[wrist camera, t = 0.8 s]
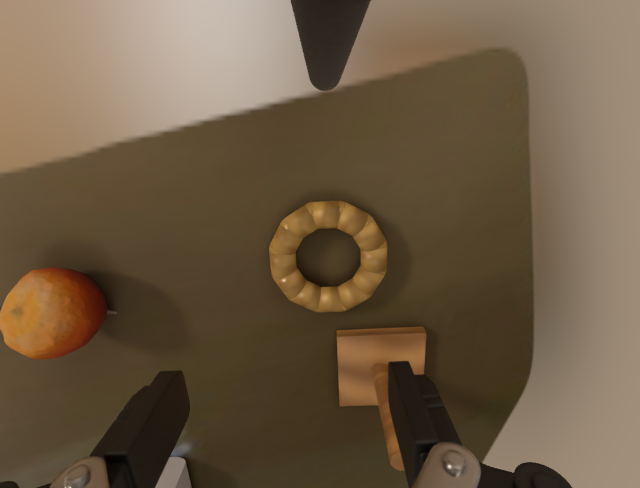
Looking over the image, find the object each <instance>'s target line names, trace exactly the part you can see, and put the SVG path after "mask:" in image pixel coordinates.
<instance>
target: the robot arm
mask: <svg viewBox="0 0 640 488" xmlns="http://www.w3.org/2000/svg"><path fill="white" fill-rule="evenodd" d="M388 401H389V408H390V413H391V417H392V421H393V425H394V429H395V433H396V437H397V441H398V445H399V449H400V453H401V457H402V461H403V465H404V469H405V473H406V477H407V481H408V485H409V488H572V487H571V485H570V484H569V483H568V482H567V481H566V480H565V479H564V478H563V477H562V476H561V475H560V474H558V473H557V472H556V471H554V470H553V469H551V468H549V467H547V466H545V465H541V464H538V463H532V462H527V463H522V464H520V465H519V466H518V467H517V468H516V469H515V472H514V473H512V472H508V471H505V470H501V469H497V468H493V467H490V466H487V465H485V464H483V463H481V462H479V461H478V460H477V459H476V457H475V456H474V455H473V454H472V453H471V452H470V451H469V450H468V449H466V448H465V447H463V445H462V443H461V441H460V439H459V437H458V435H457V433H456V430H455V428H454V426H453V424H452V422H451V419H450V417H449V415H448V413H447V411H446V408H445V407H444V404H443V402H442V400H441V398H440V395H439V393H438V391H437V389H436V386H435V384H434V383H433V382H432V381H431V380H430V379H429V378H428V377H427V376H426V375H425V374H418V375H414V373H413V370H412V368H411V365H410V363H409V361H391V362H389V363H388ZM189 410H190V402H189V397H188V393H187V388H186V384H185V379H184V375H183V372H182V371H180V370H179V371H161V372H159V373H158V375H157V376H156V377H155V379H154V380H153V382H152V383H151V385H150V386H144V387H143V388H142V389H141V390H140V391H138V392H137V393H136V394H135V395H133V396H132V398H131V399H130V400H129V402H128V403H127V404H126V406H125V407H124V410H122V411H121V413H120V414H119V415H118V417H117V420H115V421H114V422H113V424H112V425H111V427H110V428H109V429H108V431H107V432H106V433H105V435H104V436H103V438H102V439H101V440H100V442H99V443H98V445H97V446H96V447H95V449H94V450H93V451H92V453H91V454H90V456H89V457H86V458H83V459H80V460H78V461H76V462H74V463H72V464H71V465H69V466H68V467H66V468H65V469H64V470H63V471H62V472H61V473H59V475H58V476H57V477H56V478H55V479H54V481H53V482H52V483H50V484H47V485H44V486H41V487H37V488H155V487H156V485H157V483H158V481H159V479H160V476H161V474H162V472H163V470H164V468H165V466H166V464H167V462H168V459H169V457H170V455H171V453H172V451H173V449H174V447H175V445H176V443H177V440H178V438H179V436H180V434H181V432H182V430H183V428H184V426H185V423H186V421H187V419H188V416H189ZM0 488H19V487H18V485H17V483H15V482H12V481H6V482H1V483H0Z"/></svg>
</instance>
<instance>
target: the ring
mask: <svg viewBox="0 0 640 488" xmlns="http://www.w3.org/2000/svg"><path fill="white" fill-rule="evenodd" d="M324 228H337V229H339V230H341V231H343V232H345V233H347V234H349V235H351V236H352V237H353V238H354V240H355V241H356V243H357V244H358V246H359V247H360V249H361V265H360V267H359V268H358V270H357V272H356V273H355V275H354V277H353V278H352V279H350V280H348V281H347V282H345V283H343V284H341V285H340V286H334V287H320V286H318V285H316V284H313V283H311V282H309V281H307V280H306V279H305V278H304V277H303V275H302V274H301V272H300V271H299V270H298V268H297V264H296V251H297V249H298V247H299V245H300V243H301V241H302V239H303V238H304V237H306V236H307V235H309V234H310V233H312V232H314V231H315V230H317V229H324ZM269 255H270V264H271V273H272V277H273V279H274V280H275V282H276V283H277V284H278V286H279V287H280V288H281V290H282V291H283V292H284V294H285V295H286V296H287V298H288V299H289V300H291V301H292V302H294V303H297V304H299V305H301V306H303V307H305V308H308V309H310V310H312V311H314V312H338V311H346V310H348V309H350V308H352V307H354V306H356V305H357V304H359V303H361V302H363V301H365V300H366V299H368V298H370V297H371V296H372V295H373V293H374V292H375V290H376V288H377V287H378V285H379V284H380V282H381V280H382V279H383V277H384V276H385V274H386V271H387V241H386V239H385V237H384V235H383V234H382V232H381V231H380V229H379V227H378V226H377V224H376V222H375V221H374V219H373V218H372V216H371V215H369V214H368V213H366V212H364V211H362V210H360V209H358V208H356V207H354V206H352V205H350V204H348V203H346V202H344V201H320V202H310V203H307V204H306V205H304V206H302V207H301V208H299V209H298V210H296V211H295V212H293V213H292V214H290V215H288V216H287V217H285V218H284V219H283V220H282V221H281V223H280V225H279V227H278V229H277V231H276V233H275V235H274V237H273V239H272V242H271V244H270V246H269Z"/></svg>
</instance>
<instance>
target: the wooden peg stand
mask: <svg viewBox="0 0 640 488" xmlns="http://www.w3.org/2000/svg"><path fill="white" fill-rule="evenodd" d="M425 347H426V332H425V330H424V328H423V327H401V328H377V329H353V330H337V355H338V380H339V402H340V406H362V405H378V406H379V410H380V415H381V420H382V425H383V430H384V435H385V440H386V444H387V449H388V454H389V459H390V463H391V465H392V467H393V468H395V469H397V470H405V469H404V465H403V461H402V457H401V453H400V449H399V445H398V441H397V437H396V433H395V429H394V425H393V421H392V417H391V413H390V408H389V401H388V363H389V362H391V361H409V363H410V365H411V368H412V370H413V373H414V375H418V374H424V363H425Z"/></svg>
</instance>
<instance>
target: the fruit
mask: <svg viewBox="0 0 640 488" xmlns="http://www.w3.org/2000/svg"><path fill="white" fill-rule="evenodd" d="M107 308H108V305H107V302H106V299H105V297H104V294H103V292H102V291H101V289H100V288H99V287H98V286H97V285H96V284H95V283H94V282H93V281H92V280H91V279H90V278H89V277H88V276H87V275H86V274H84V273H81V272H78V271H75V270H70V269H62V268H47V269H36V270H32V271H31V272H30V273H28V274H26V275H25V276H23V277H22V278H21V279H20V281H19V282H18V283H17V284H16V285H15V287H14V288H13V289H12V290H11V291H10V293H9V294H8V296H7V297H6V299H5V302H4V304H3V307H2V309H1V312H0V330H1V331H2V333H3V335H4V341H5V343H6V344H7V345H8V346H9V347H10V348H11V349H13V350H16V351H18V352H20V353H22V354H23V355H25V356H27V357H29V358H32V359H52V358H57V357H60V356H63V355H65V354H68V353H70V352H72V351H75V350H77V349H79V348H81V347H82V346H84V345H86V344H87V343H88V342H89V341H90V340H91V338H92V337H93V336H94V335H95V333H96V332H97V331H98V329H99V328H100V326H101V325H102V323H103V322H104V320H105V318H106V317H107V316H108V315H109V314H117V313H118V312H115V311H109V310H108V309H107Z"/></svg>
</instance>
